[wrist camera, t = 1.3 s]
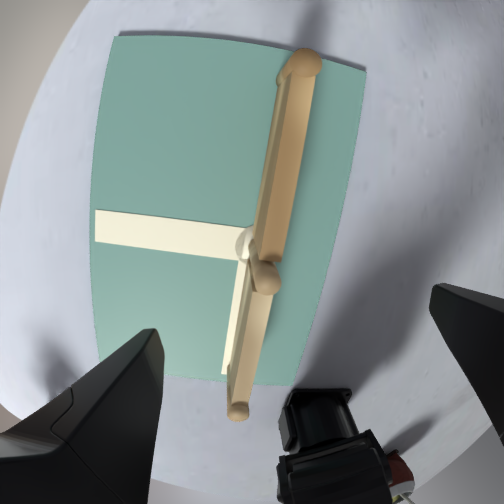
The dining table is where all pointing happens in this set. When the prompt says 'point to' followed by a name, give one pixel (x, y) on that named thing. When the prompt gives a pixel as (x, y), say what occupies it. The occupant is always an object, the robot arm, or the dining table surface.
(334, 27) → the dining table surface
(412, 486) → the mate gourd
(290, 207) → the fence panel
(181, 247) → the board
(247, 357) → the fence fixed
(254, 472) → the dining table surface
